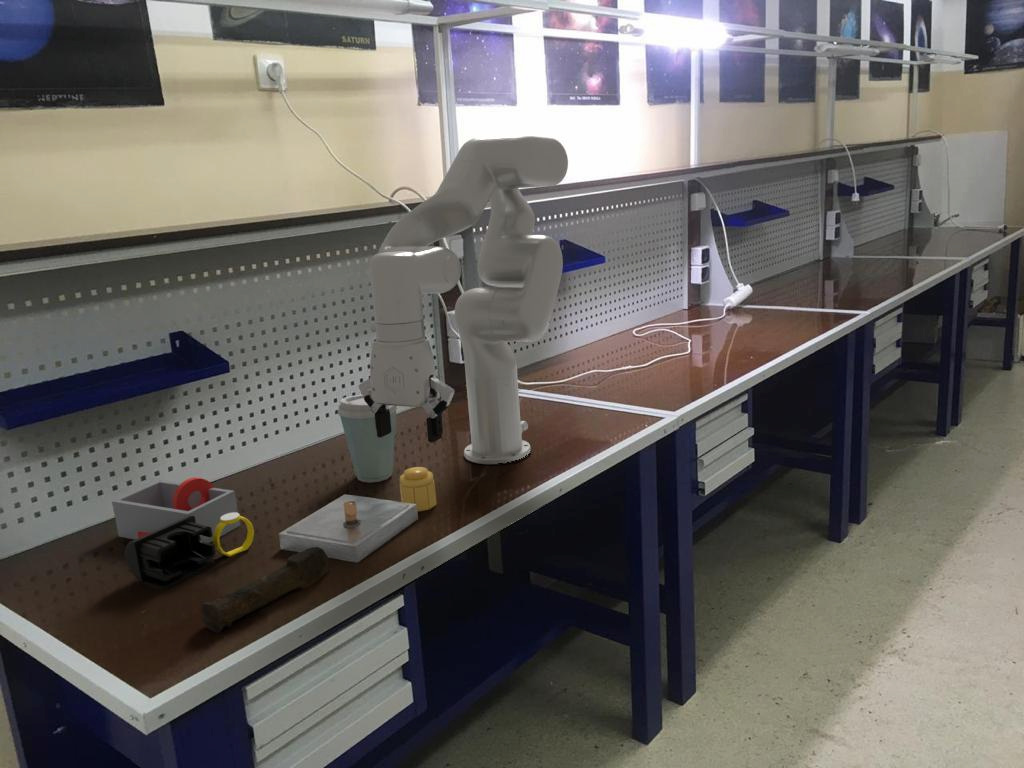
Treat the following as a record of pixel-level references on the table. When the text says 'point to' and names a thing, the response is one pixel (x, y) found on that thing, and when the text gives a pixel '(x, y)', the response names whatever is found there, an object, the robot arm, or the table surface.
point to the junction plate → (350, 527)
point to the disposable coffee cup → (367, 439)
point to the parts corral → (170, 509)
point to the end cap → (170, 554)
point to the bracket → (185, 491)
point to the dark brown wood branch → (266, 589)
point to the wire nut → (418, 488)
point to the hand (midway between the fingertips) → (409, 437)
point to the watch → (231, 519)
